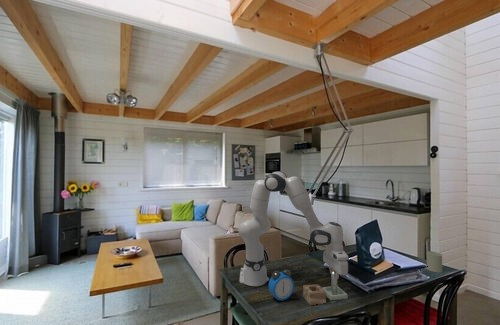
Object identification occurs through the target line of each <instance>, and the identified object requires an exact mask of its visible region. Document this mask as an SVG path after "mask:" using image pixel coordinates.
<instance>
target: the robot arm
mask: <svg viewBox="0 0 500 325" xmlns="http://www.w3.org/2000/svg"><path fill="white" fill-rule="evenodd" d="M253 185H254V186H253V188H252V192H251V198H250V203H249V211H251V212H252V218H251V219H247V220H244V221H243V222H241V223H240V224H239V225H238V227H237V231H238V235H239V237H240V238H242V240H243V241H244V244H245V258H244V264H243V267H240V272H239V283H240V284H243V285H247V286H249V287H250V286H251V287H260V286H263V285H265V284H266V283H267V282H269V281H270V277H268V276H267V270H268V269H267V266H266V265H265V258H264V255H265V254H264V252H265V251H264V248H265V247H264V244H262V242H261V241H260V236H262V235H264V234H266V233H267V232H268V231H270V229H271V226H272V224H271V220H270V219H269V217H268V208H269V201H270V195H271V193H272V192H273V193H274V192H275V193H276V192H284V191H285V192H286V194H287V197H288V198H289V200H290V202H291V204H292V206H293V208H295V209H296V210H298V211H300V213H302V214H303V215H304V218H305V220H306V222H307V224H308V225H309V239H310V242H311V243H312V244H314V245H315V246H318V247H319V246H326V247H324V250H323V256H322V257H323V258H322V259H323V263H324V264H326V265H327V266H328V268H329V269H328V270H329V273H330V275H331V269H332V268H333V269H334V270H335V272H336V274H334V277H335V278H336V279H337V280H338V279H339V277H340V276H347V275H348V272H349V262H348V260H349V255H348V254H347V253H346V251H345V250H344V245H343V244H344V243H343V241H344V231H343V230H344V229H343V226H342V225H341V224H340V223H338V222H334V221H329V222H327V223H326V224H323V223H321V221H320V220H319V219H318V217H317V215H316V212H315V210H314V209H313V207H312V201H311V197H310V195H309V192H308V190H307V188H306V187H305V184H304V183H303V182H302V180H301V179H300V178H299V177H298V176H290V177H289V176H287V175H286V173H285V172H283V171H279V170H278V171H273V172H272V173H270V174H268V175H267V176H266V177H265V178H264V179H259V180H256V182H255V183H254V184H253Z"/></svg>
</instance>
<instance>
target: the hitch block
mask: <svg viewBox="0 0 500 325" xmlns="http://www.w3.org/2000/svg"><path fill="white" fill-rule="evenodd" d="M302 297H303V298H304V299H305V301H306V302H307V304H309V306H317V305H316V304H318V305H324V304H323V303H326V304H327V296H326V292H325V291H324V290H323V289H322V287H321V286H320V285H319V284H318V283H317V284H306V285H303V286H302Z"/></svg>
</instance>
